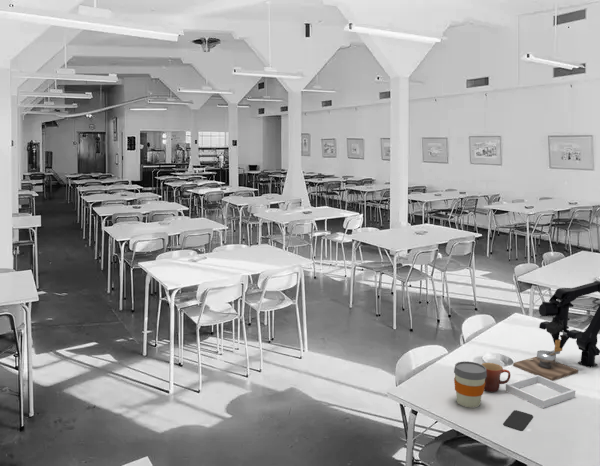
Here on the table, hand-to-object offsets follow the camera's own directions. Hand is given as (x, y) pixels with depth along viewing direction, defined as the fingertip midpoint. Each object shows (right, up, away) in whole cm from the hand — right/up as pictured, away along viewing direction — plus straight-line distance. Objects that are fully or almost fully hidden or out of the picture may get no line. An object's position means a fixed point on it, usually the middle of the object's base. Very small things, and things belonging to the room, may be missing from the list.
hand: (558, 347), depth 260 cm
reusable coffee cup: (-55, -14, -39) cm, 69 cm away
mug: (-40, -13, -27) cm, 50 cm away
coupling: (-5, -5, -2) cm, 7 cm away
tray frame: (-22, -13, -30) cm, 40 cm away
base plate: (-8, -10, -3) cm, 13 cm away
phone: (-41, -17, -53) cm, 69 cm away
